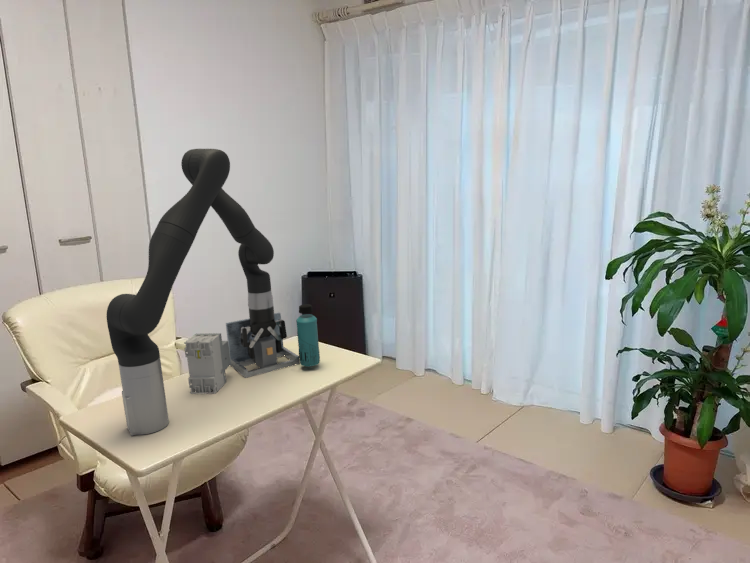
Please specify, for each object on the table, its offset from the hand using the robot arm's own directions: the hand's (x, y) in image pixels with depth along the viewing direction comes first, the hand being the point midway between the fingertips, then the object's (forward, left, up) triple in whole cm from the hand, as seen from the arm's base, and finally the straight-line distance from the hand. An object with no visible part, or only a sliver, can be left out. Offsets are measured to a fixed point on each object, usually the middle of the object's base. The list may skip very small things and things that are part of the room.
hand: (265, 355), depth 170 cm
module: (0, 0, -4) cm, 4 cm away
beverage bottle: (+10, -10, -4) cm, 15 cm away
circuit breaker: (-18, -3, -4) cm, 19 cm away
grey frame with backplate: (0, +1, -3) cm, 4 cm away
